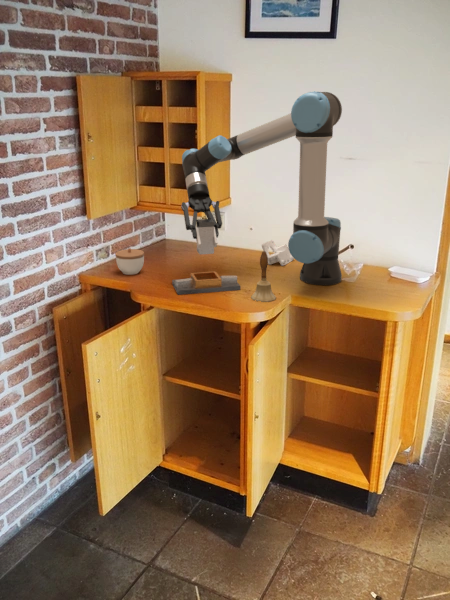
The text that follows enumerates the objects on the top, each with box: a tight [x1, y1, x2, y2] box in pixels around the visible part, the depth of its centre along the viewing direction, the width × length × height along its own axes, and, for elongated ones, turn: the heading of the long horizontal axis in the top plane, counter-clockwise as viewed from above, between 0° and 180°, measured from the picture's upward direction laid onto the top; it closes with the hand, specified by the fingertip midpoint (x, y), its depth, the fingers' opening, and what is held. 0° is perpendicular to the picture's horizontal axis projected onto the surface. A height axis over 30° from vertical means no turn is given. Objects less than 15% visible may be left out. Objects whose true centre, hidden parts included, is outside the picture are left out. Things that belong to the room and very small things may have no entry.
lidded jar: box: [114, 247, 145, 276], centre depth 212 cm, size 11×11×9 cm
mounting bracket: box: [261, 239, 296, 267], centre depth 226 cm, size 12×6×11 cm, turn 149°
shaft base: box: [171, 271, 241, 296], centre depth 197 cm, size 22×12×4 cm, turn 104°
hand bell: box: [250, 250, 277, 303], centre depth 185 cm, size 8×8×16 cm
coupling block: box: [196, 218, 215, 255], centre depth 192 cm, size 5×5×11 cm
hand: (207, 245), depth 189 cm, fingers closed on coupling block, 5 cm apart
